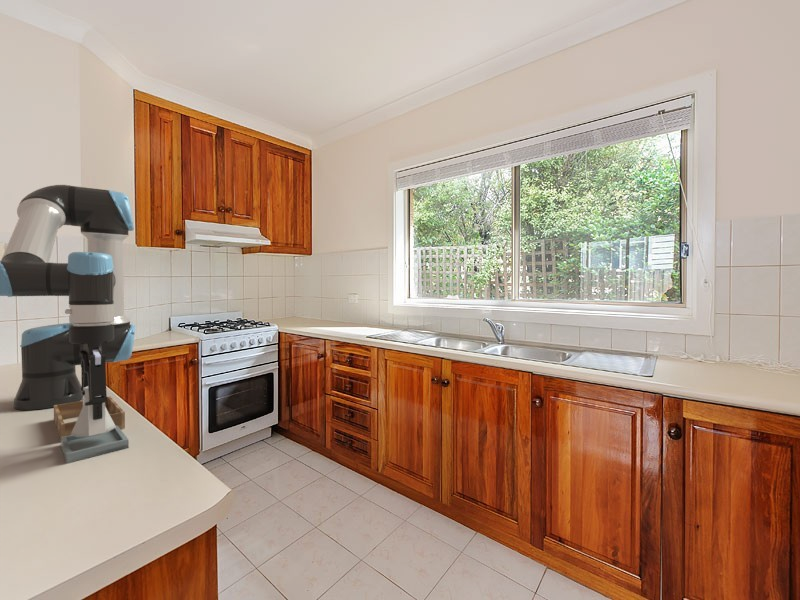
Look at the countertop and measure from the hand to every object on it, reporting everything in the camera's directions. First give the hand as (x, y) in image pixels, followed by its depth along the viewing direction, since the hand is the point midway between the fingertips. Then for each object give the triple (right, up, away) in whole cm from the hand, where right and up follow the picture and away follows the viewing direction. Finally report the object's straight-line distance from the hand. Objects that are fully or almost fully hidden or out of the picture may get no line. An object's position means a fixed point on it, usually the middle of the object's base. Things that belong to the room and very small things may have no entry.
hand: (94, 428), depth 80 cm
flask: (0, -1, 0) cm, 1 cm away
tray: (0, -4, 0) cm, 4 cm away
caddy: (-12, -3, +13) cm, 18 cm away
